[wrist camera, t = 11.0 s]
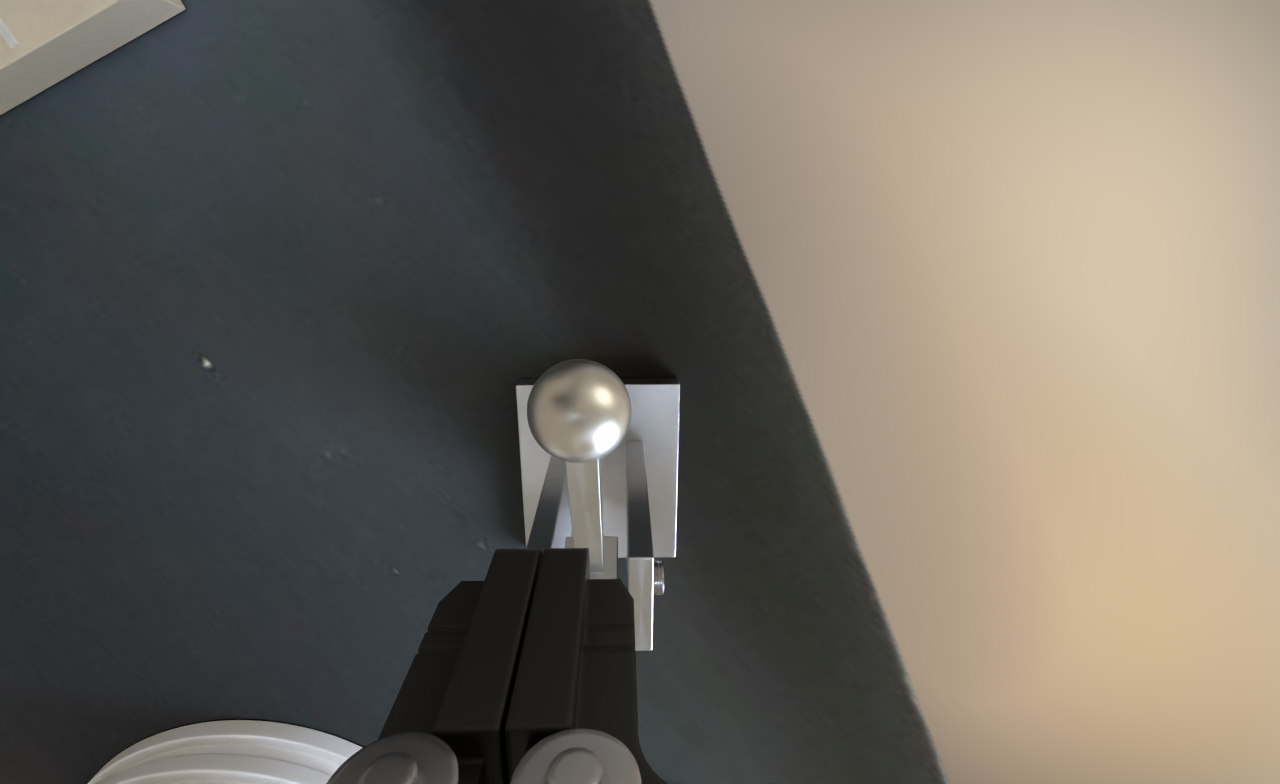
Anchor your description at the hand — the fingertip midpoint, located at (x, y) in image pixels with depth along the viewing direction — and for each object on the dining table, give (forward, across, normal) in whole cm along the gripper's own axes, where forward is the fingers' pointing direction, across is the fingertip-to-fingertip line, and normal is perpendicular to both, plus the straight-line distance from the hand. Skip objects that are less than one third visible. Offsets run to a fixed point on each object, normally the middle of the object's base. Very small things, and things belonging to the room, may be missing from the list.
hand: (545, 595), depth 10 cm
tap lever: (+13, 0, +4) cm, 13 cm away
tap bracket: (+24, 0, +9) cm, 26 cm away
